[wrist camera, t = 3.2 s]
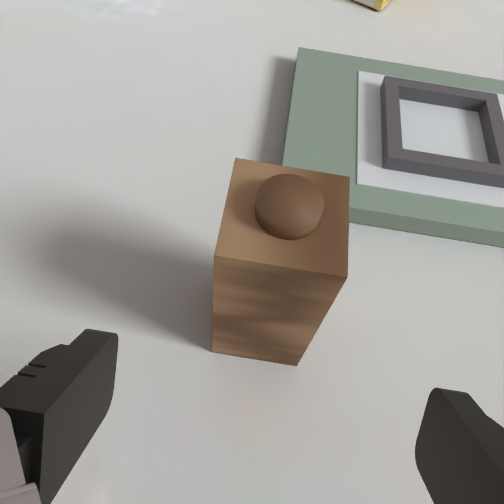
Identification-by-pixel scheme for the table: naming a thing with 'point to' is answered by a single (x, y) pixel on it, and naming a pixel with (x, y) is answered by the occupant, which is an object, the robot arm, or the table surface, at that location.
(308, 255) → the walnut block
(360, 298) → the table surface
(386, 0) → the candy box
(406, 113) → the foundation board
